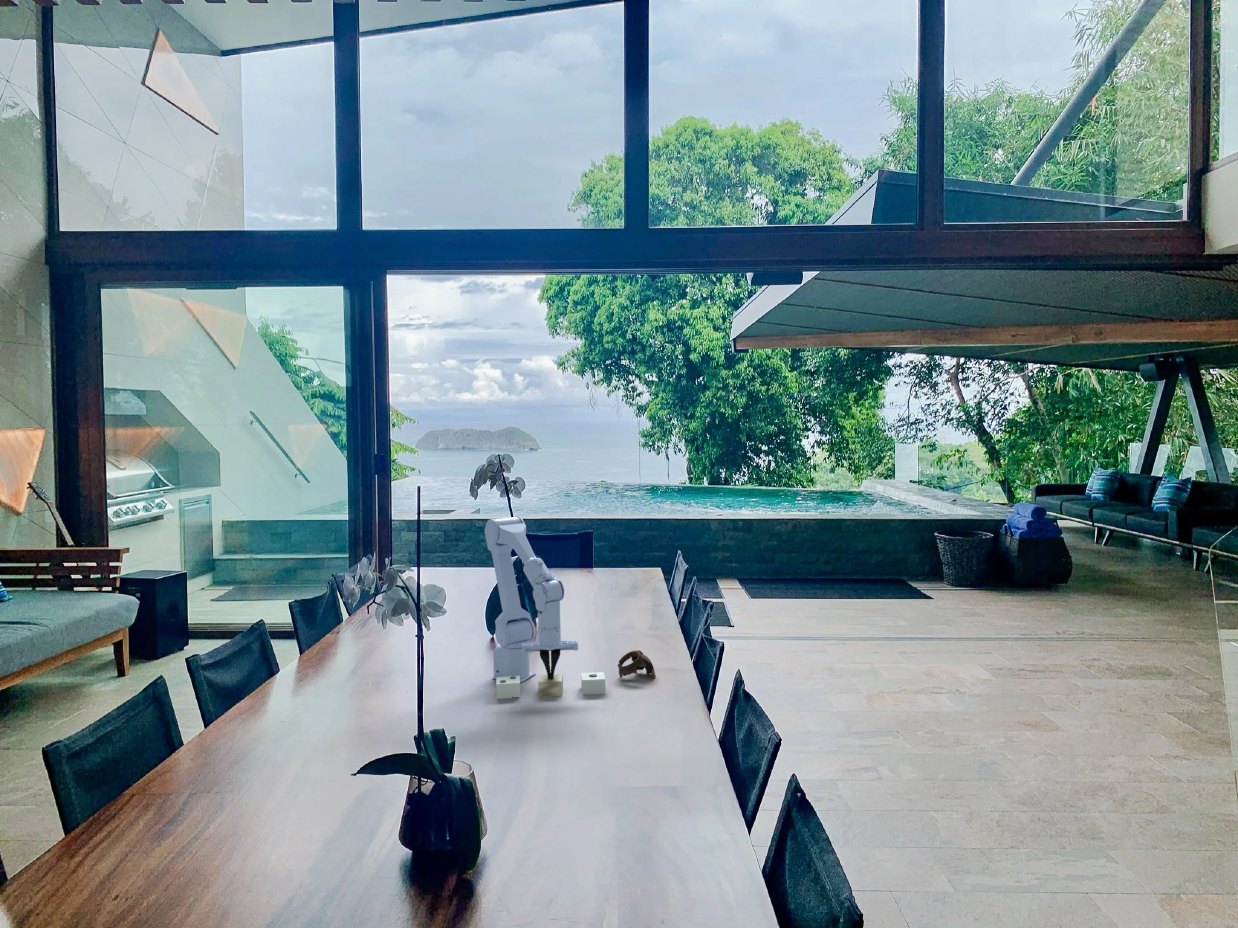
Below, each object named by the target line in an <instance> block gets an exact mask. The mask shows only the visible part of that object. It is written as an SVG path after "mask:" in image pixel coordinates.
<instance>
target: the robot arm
mask: <svg viewBox="0 0 1238 928" xmlns="http://www.w3.org/2000/svg"><path fill="white" fill-rule="evenodd" d="M484 534H485V535H484V536H485V541H486V546H487V550H488V551H490V552H491V557H492V562H493V567H494V572H495V579H496V583H497V589H498V594H499V597H500V598H499V599H500V605H501V610H502V612H501V613H500V614H499V615H498V617H497V618H496V619H495V620H494V624H495V632H494V633H495V638H496V639H495V640H496V642H497V643H498V644H497V645H496V646H495V647H494V651H493V657H492V658H493V660H492V661H493V676H492V679H494V680H496V677H506V676H520V683H523V682H525V681H526V680H528V679H529V678H532V677H533V676H535V675H536V673H537V672H535V671H530V669H531V667H530V653H533V652H539V657H540V659H541V661H542V663H543V665H544V667H545V672H546V675H548V679H553V678H554V675H555V671H556V667H557V664H558V662H559V659H560V656H561V651H579V642H578V641H577V640H576V641H575V640H574V641H573V640H562V637H561V636H562V635H561V634H562V633H561V632H562V631H561V601H562V600H563V599H564V597H565V588H564V585H563V582H562V580H560V579H559V578H557V577H556V576H555V575H554V576H553V575H552V574H551V572H550V570H549V569H548V567H547V565H546V564H545V562H544V561H543V559H542V558H541V557H537V556H536V555H535V553H534V550H533V548H532V546H531V545H530V542H529V540H528V538H527V536H526V535H527V526H526V523H525V521H524V519H523V518H522V516H519V515H518V516H513V517H504V518H495V519H493V518H490V519H488V520H487V522H486V525H485V528H484ZM512 550H514V551H515V553H516V555H517V556H518V557H519V559H520V560H521V562H522V563H523V567H522V568H523V569H522V570H523V572H524V575H525V576H526V578H527V579H528V582H529V583H530V585H531V586H532V588H533V591H532V597H533V600H534V603H535V609H536V610H537V617H538V618H537V624H538V627H537V628H538V629H537V630H538V641H535V642H534V641H533V640H534V639H535V636H536V626H535V623H534V622H533V620H532V617H531V613H529V612H528V611H527V610H526V609H524V608H522V606H521V600H520V594H519V591H518V589H519V588H518V584H517V580H516V575H515V569H514V565H513V559H512ZM514 620H515V621H514ZM532 641H533V642H532Z"/></svg>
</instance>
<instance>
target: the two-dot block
mask: <svg viewBox="0 0 1238 928" xmlns="http://www.w3.org/2000/svg"><path fill="white" fill-rule="evenodd" d="M495 681H496V683H495V684H496V699H497V700H501V699H503V698H504V699H513V698H512V697H519V698H521V682H520V676H506V677H496V679H495ZM504 699H503V700H504Z"/></svg>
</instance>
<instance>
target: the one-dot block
mask: <svg viewBox="0 0 1238 928" xmlns="http://www.w3.org/2000/svg"><path fill="white" fill-rule="evenodd" d="M580 674H581V675H580V676H581V678H580V681H581V683H580V684H581V694H587V695H602V694H603V693H606V676H605V672H604V671H599V672H598V671H597V672H581V673H580ZM603 695H604V694H603Z"/></svg>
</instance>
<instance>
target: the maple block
mask: <svg viewBox="0 0 1238 928" xmlns="http://www.w3.org/2000/svg"><path fill="white" fill-rule="evenodd" d="M538 678H539V679H538V682H537V684H538V685H537V686H538V697H563V691H564V675H563V674H561V673H560V674H556V673H555V674H554V678H553V679H548V675H547V674H540V675H539V677H538Z"/></svg>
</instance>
